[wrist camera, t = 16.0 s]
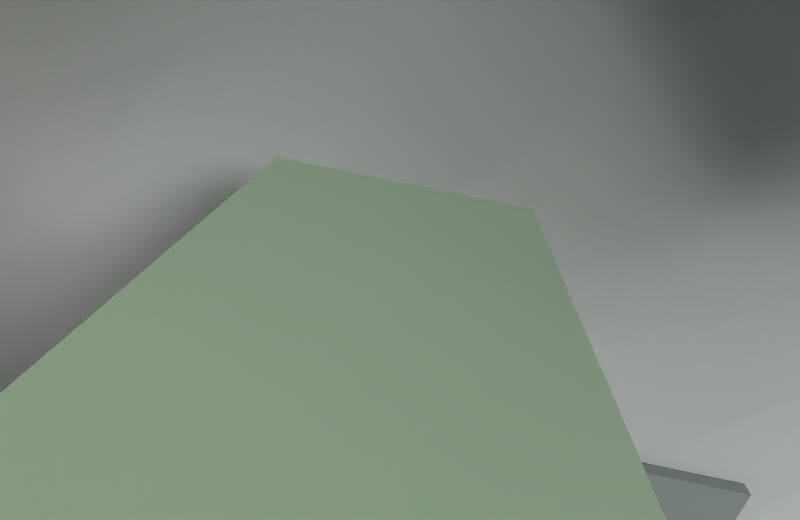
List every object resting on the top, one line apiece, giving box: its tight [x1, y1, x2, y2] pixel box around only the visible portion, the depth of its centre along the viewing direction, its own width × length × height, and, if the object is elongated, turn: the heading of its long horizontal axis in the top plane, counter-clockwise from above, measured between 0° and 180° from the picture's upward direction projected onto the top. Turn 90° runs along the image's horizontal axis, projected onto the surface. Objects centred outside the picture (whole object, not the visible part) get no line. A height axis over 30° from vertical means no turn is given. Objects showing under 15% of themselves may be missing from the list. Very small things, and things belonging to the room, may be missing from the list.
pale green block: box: [0, 157, 666, 520], centre depth 9 cm, size 8×6×11 cm
